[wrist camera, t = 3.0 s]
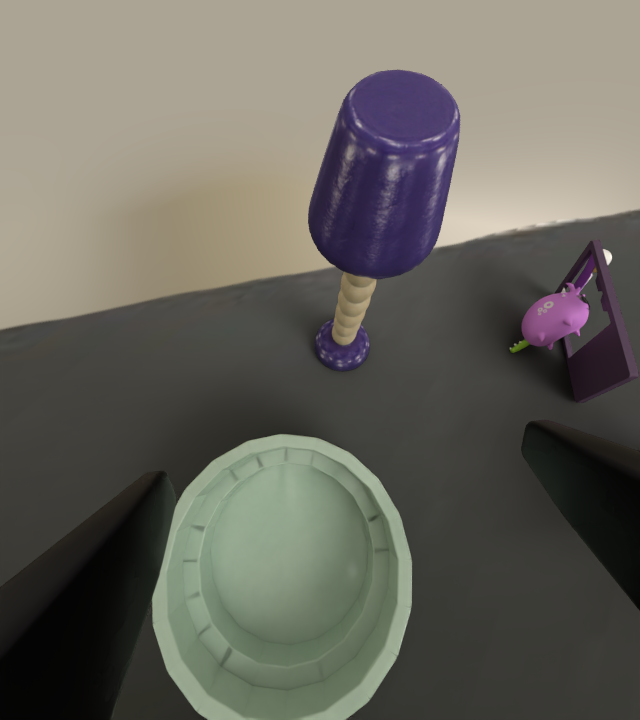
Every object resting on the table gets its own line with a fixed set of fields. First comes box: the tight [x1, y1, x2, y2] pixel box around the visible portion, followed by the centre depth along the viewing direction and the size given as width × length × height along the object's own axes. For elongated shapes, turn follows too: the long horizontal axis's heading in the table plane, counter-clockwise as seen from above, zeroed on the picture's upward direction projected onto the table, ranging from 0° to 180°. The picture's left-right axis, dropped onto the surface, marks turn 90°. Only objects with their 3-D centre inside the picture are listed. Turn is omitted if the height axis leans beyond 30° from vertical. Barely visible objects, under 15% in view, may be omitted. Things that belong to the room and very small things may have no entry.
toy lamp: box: [308, 70, 460, 371], centre depth 15 cm, size 5×5×17 cm
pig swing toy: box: [509, 240, 639, 403], centre depth 21 cm, size 7×5×9 cm
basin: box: [152, 434, 412, 720], centre depth 16 cm, size 12×12×4 cm
